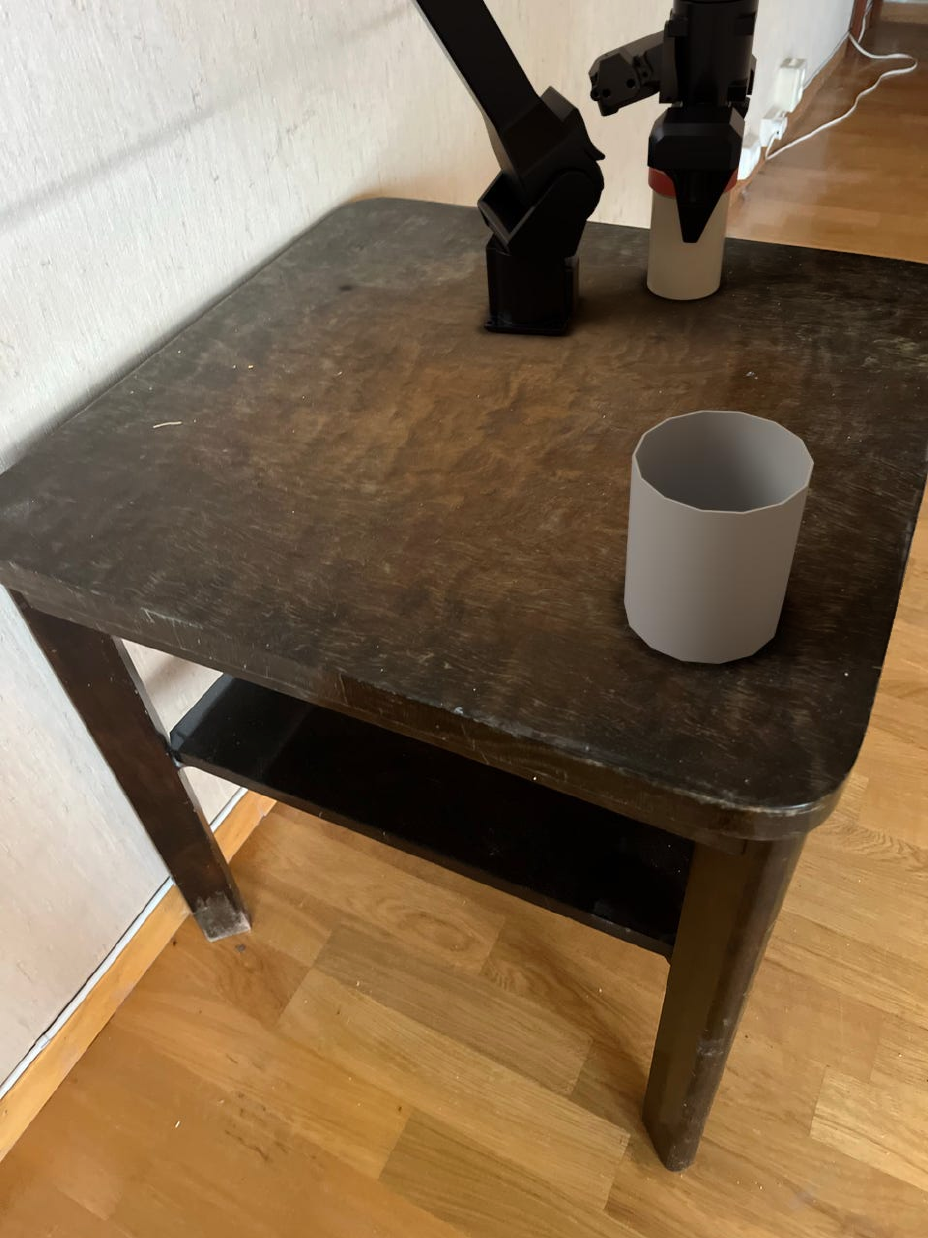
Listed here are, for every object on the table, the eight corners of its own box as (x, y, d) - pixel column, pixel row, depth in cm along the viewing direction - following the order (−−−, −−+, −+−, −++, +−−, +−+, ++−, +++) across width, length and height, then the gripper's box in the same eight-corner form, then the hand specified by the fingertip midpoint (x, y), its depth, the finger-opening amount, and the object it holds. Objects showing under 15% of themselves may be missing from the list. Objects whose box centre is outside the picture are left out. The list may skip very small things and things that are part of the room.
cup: (812, 624, 51) (852, 473, 44) (688, 686, 48) (708, 537, 41) (712, 539, 56) (732, 392, 49) (596, 591, 54) (600, 444, 47)
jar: (642, 298, 78) (649, 183, 72) (651, 265, 82) (658, 154, 76) (716, 301, 77) (730, 185, 70) (722, 268, 81) (735, 155, 74)
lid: (734, 199, 70) (736, 179, 69) (642, 197, 72) (643, 177, 71) (740, 165, 75) (742, 145, 74) (653, 163, 77) (654, 144, 76)
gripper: (619, -36, 73) (612, 174, 84) (574, 32, 61) (574, 269, 71) (769, -41, 70) (742, 177, 81) (755, 29, 58) (725, 275, 69)
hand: (695, 220), depth 76 cm, fingers open, 8 cm apart
